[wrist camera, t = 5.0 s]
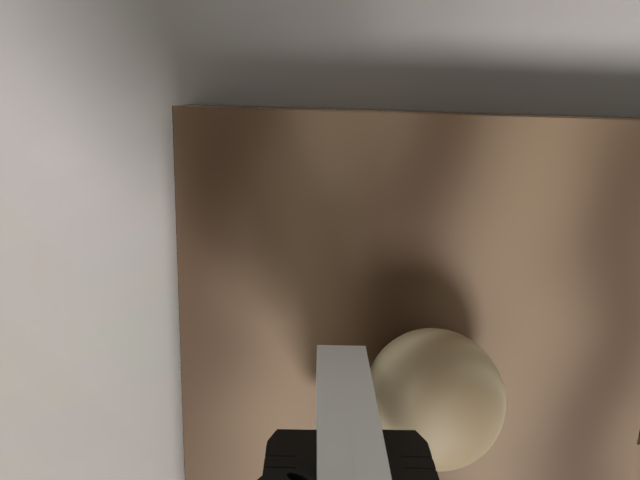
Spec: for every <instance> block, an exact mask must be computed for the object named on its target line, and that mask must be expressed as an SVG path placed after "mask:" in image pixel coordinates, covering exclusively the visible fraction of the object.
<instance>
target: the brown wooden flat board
mask: <svg viewBox="0 0 640 480" xmlns="http://www.w3.org/2000/svg"><path fill="white" fill-rule="evenodd" d="M172 117H173V146H174V175H175V204H176V234H177V263H178V292H179V321H180V350H181V379H182V408H183V437H184V467H185V480H257V479H259V478H260V477H261V476H262V474H263V467H264V460H265V453H266V445H267V441H268V439H269V438H270V437H271V436H272V435H273V433H274V432H275V431H276V430H277V429H300V430H315V402H316V363H317V345H349V346H366V350H367V356H368V361H369V366H370V368H371V366H372V364H373V362H374V360H375V359H376V357H377V356H378V354H379V353H380V352H381V350H382V349H383V348H384V347H385V346H386V345H387V344H389V343H390V342H391V341H392V340H394V339H396V338H397V337H399V336H401V335H403V334H405V333H407V332H410V331H413V330H417V329H423V328H439V329H446V330H450V331H454V332H457V333H459V334H461V335H464V336H465V337H467V338H469V339H471V340H472V341H474V342H475V343H476V344H477V345H479V346H480V347H481V348H482V349H483V350H484V351H485V352H486V353H487V354H488V355H489V357H490V358H491V359H492V361H493V362H494V364H495V366H496V367H497V369H498V371H499V373H500V376H501V379H502V381H503V384H504V389H505V395H506V412H505V418H504V422H503V426H502V428H501V431H500V433H499V435H498V437H497V439H496V441H495V442H494V444H493V445H492V446H491V448H490V449H489V450H488V451H487V452H486V453H485V454H484V455H483V456H482V457H480V458H479V459H477V460H476V461H475V462H473V463H471V464H469V465H467V466H465V467H463V468H459V469H456V470H451V471H441V472H438V471H437V473H438V476H439V480H640V118H619V117H586V116H553V115H521V114H488V113H455V112H422V111H389V110H356V109H323V108H291V107H258V106H225V105H192V104H190V105H179V106H172Z"/></svg>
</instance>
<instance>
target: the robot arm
mask: <svg viewBox="0 0 640 480" xmlns="http://www.w3.org/2000/svg"><path fill="white" fill-rule="evenodd" d="M257 480H439V476H438V473H437V471H436V467H435V464H434V461H433V459H432V455H431V451H430V448H429V445H428V442H427V441H426V440H425V439H424V438H423V437H422V436H421V435H420V434H419V433H418V432H417V431H416V430H382V427H381V421H380V416H379V411H378V406H377V401H376V396H375V391H374V386H373V381H372V376H371V371H370V366H369V361H368V356H367V350H366V346H349V345H317V363H316V402H315V430H300V429H277V430H276V431H275V432H274V433H273V435H272V436H271V437H270V438H269V439H268V441H267V445H266V453H265V460H264V467H263V474H262V476H261V477H260V478H259V479H257Z"/></svg>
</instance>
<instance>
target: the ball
mask: <svg viewBox="0 0 640 480" xmlns="http://www.w3.org/2000/svg"><path fill="white" fill-rule="evenodd" d="M370 371H371V376H372V381H373V386H374V391H375V396H376V401H377V406H378V411H379V416H380V421H381V427H382V430H416V431H417V432H418V433H419V434H420V435H421V436H422V437H423V438H424V439H425V440H426V441H427V442H428V445H429V448H430V451H431V455H432V459H433V461H434V464H435V467H436V471H438V472H441V471H451V470H456V469H459V468H463V467H465V466H467V465H469V464H471V463H473V462H475V461H476V460H477V459H479V458H480V457H482V456H483V455H484V454H485V453H486V452H487V451H488V450H489V449H490V448H491V446H492V445H493V444H494V442H495V441H496V439H497V437H498V435H499V433H500V431H501V428H502V426H503V422H504V418H505V412H506V395H505V389H504V384H503V381H502V379H501V376H500V373H499V371H498V369H497V367H496V366H495V364H494V362H493V361H492V359H491V358H490V357H489V355H488V354H487V353H486V352H485V351H484V350H483V349H482V348H481V347H480V346H479V345H477V344H476V343H475V342H474V341H472V340H471V339H469V338H467V337H465V336H464V335H461V334H459V333H457V332H454V331H450V330H446V329H439V328H423V329H417V330H413V331H410V332H407V333H405V334H403V335H401V336H399V337H397V338H396V339H394V340H392V341H391V342H390V343H389V344H387V345H386V346H385V347H384V348H383V349H382V350H381V352H380V353H379V354H378V356H377V357H376V359H375V360H374V362H373V364H372V366H371V368H370Z"/></svg>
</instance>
